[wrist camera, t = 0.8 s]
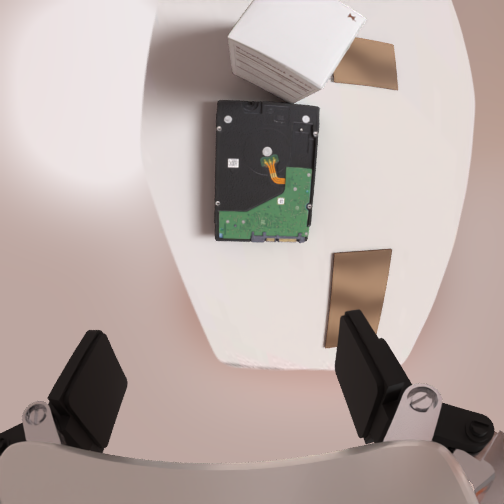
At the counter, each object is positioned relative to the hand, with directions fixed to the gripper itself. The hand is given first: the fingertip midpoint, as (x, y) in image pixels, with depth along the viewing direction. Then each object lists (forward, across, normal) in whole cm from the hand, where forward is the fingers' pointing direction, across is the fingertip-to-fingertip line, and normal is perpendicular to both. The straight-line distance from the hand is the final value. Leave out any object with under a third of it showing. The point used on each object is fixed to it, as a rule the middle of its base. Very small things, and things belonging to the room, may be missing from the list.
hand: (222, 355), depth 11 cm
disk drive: (+24, -4, -4) cm, 24 cm away
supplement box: (+23, -6, -16) cm, 28 cm away
